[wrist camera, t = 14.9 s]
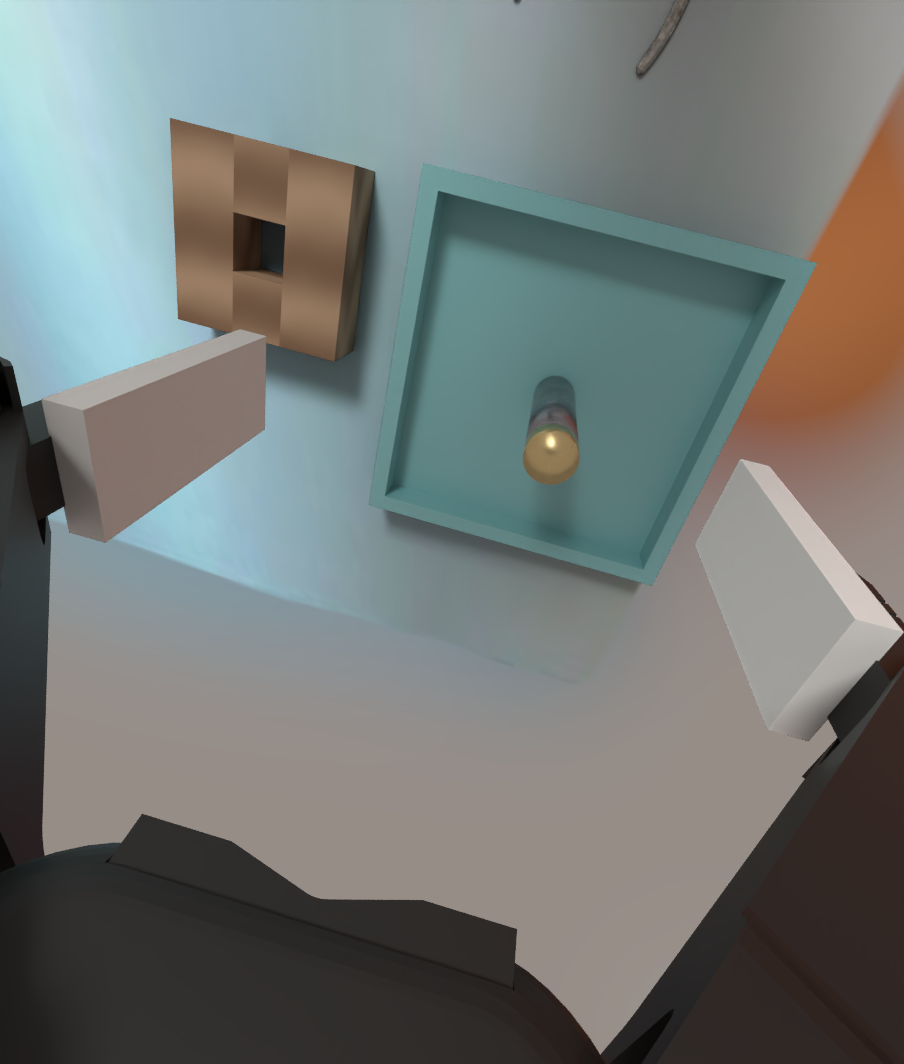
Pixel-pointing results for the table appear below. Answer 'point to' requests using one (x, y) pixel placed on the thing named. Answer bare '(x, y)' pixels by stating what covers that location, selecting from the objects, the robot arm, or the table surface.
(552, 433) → the pin
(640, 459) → the tray
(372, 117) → the table surface
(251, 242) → the pin block
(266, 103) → the table surface
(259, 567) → the table surface
